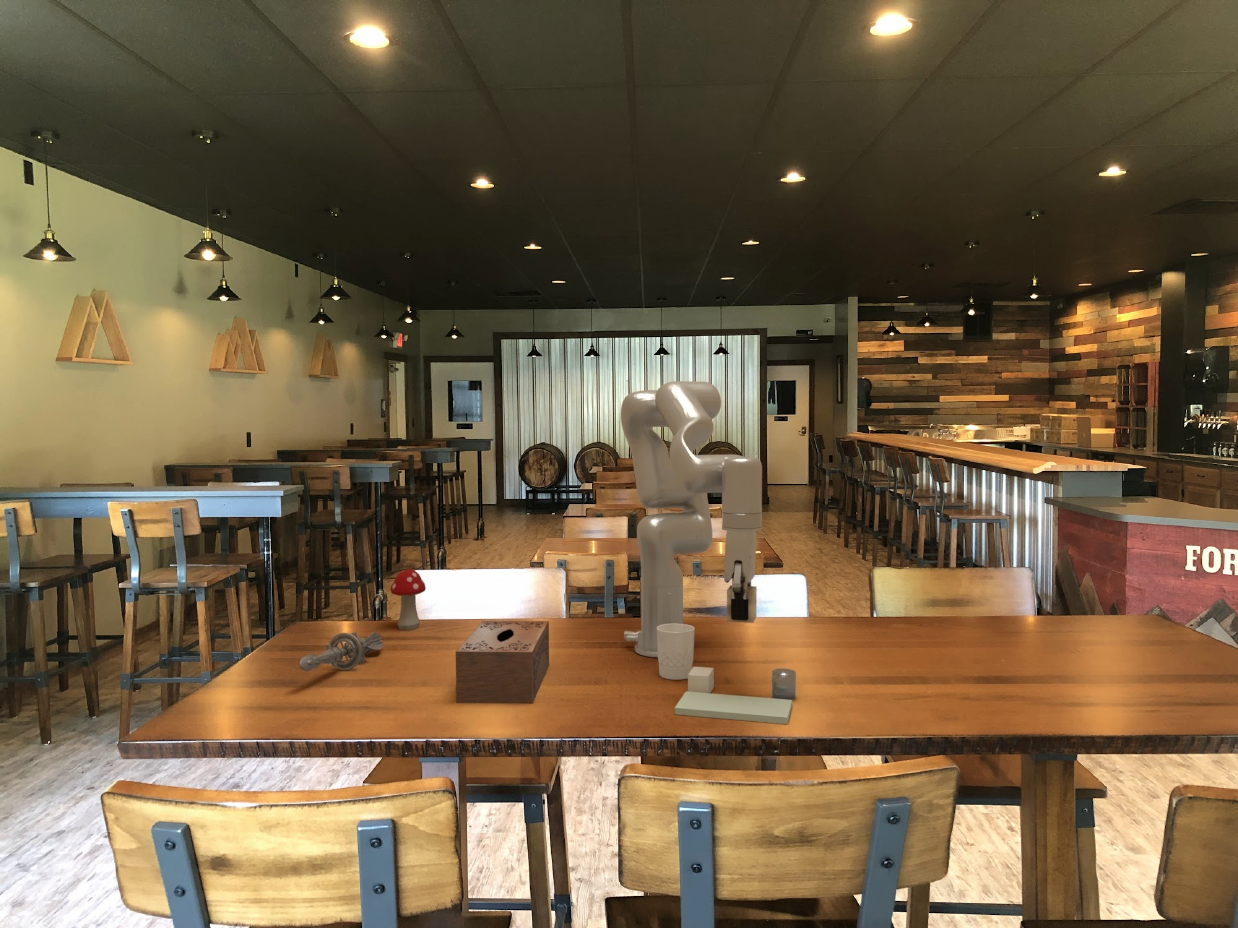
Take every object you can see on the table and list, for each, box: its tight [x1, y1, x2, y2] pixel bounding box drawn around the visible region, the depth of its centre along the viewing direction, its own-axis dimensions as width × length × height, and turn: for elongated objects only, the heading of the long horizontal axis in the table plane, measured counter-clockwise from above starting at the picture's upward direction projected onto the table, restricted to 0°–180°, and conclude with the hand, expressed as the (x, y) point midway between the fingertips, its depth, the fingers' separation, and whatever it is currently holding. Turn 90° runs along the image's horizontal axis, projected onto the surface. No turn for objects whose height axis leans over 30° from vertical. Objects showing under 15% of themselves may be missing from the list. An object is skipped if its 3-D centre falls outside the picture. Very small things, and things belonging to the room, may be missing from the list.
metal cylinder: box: [771, 668, 797, 702], centre depth 169 cm, size 4×4×5 cm
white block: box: [687, 666, 715, 693], centre depth 174 cm, size 4×6×4 cm, turn 164°
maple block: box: [726, 584, 758, 624], centre depth 170 cm, size 5×5×6 cm
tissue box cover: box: [455, 620, 550, 705], centre depth 179 cm, size 26×14×10 cm, turn 178°
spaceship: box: [298, 631, 385, 672], centre depth 189 cm, size 8×35×8 cm
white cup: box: [657, 623, 695, 681], centre depth 184 cm, size 8×8×10 cm
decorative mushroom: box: [390, 568, 426, 631], centre depth 227 cm, size 10×9×15 cm
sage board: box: [674, 690, 793, 725], centre depth 162 cm, size 20×10×1 cm, turn 74°
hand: (741, 615), depth 170 cm, fingers closed on maple block, 4 cm apart
